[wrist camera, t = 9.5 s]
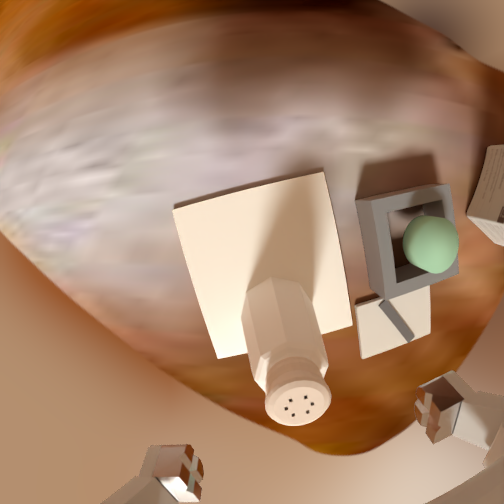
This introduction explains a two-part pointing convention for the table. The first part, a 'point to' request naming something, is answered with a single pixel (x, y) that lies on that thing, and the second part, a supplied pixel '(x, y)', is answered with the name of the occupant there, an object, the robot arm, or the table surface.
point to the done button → (431, 243)
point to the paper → (263, 253)
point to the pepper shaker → (286, 351)
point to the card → (392, 321)
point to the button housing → (379, 240)
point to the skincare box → (490, 196)
